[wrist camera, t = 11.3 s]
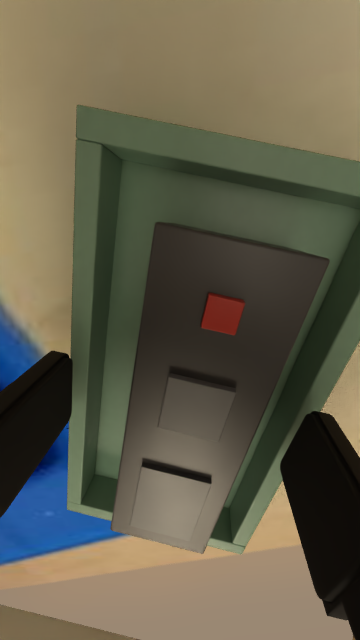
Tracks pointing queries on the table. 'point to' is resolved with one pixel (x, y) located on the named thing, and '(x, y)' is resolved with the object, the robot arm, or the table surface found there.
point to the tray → (131, 274)
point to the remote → (204, 374)
